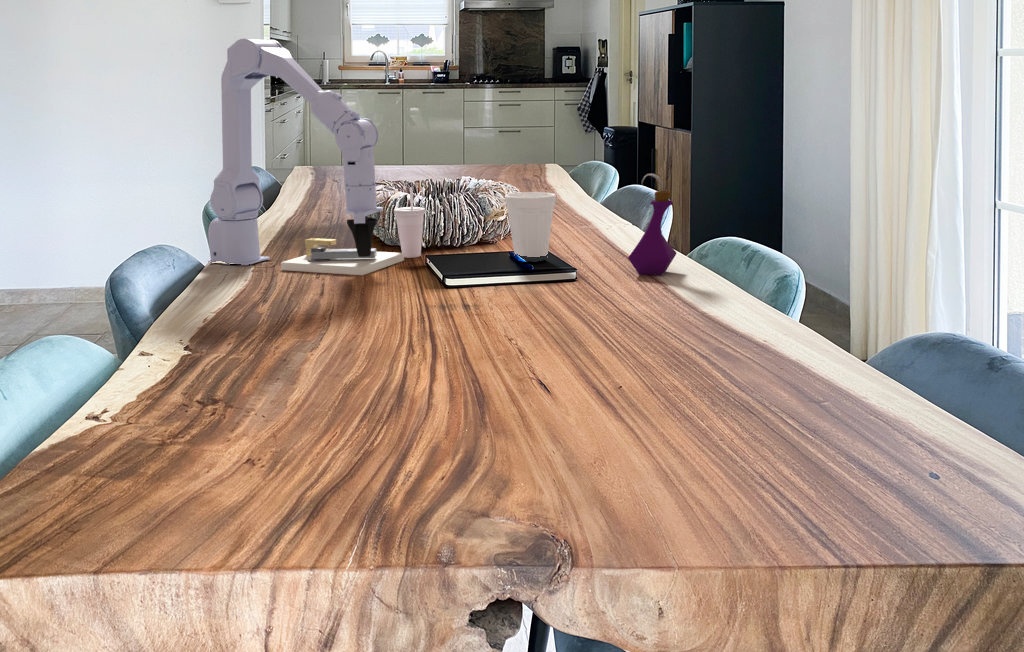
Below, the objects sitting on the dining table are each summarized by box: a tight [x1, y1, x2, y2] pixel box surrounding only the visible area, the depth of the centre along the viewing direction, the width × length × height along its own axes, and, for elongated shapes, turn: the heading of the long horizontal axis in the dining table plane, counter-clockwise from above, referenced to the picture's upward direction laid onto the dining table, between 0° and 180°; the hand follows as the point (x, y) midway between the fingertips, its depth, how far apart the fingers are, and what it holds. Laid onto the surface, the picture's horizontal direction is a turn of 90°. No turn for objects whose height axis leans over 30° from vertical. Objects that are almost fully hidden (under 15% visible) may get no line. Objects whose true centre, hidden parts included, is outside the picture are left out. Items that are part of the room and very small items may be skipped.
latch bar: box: [311, 246, 378, 259], centre depth 195 cm, size 12×3×2 cm, turn 90°
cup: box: [504, 191, 557, 257], centre depth 196 cm, size 10×10×13 cm
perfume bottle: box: [627, 173, 677, 276], centre depth 182 cm, size 8×8×18 cm
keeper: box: [304, 237, 338, 256], centre depth 199 cm, size 6×2×3 cm, turn 67°
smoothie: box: [393, 186, 426, 259], centre depth 205 cm, size 6×6×14 cm
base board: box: [280, 251, 405, 276], centre depth 198 cm, size 18×16×2 cm
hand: (364, 256), depth 193 cm, fingers closed, pressing on latch bar
